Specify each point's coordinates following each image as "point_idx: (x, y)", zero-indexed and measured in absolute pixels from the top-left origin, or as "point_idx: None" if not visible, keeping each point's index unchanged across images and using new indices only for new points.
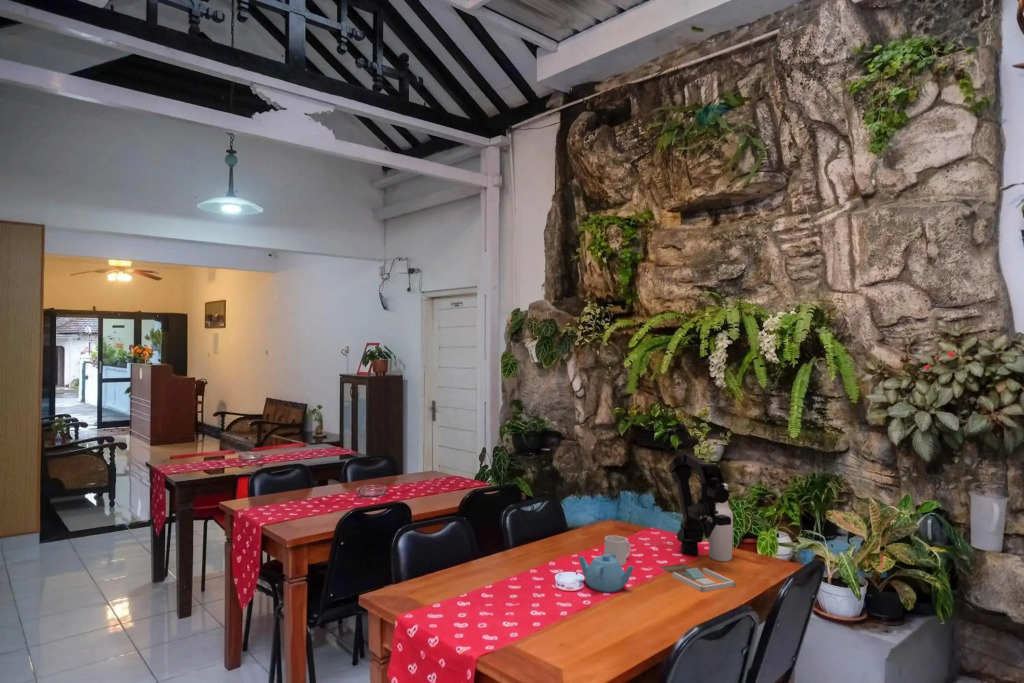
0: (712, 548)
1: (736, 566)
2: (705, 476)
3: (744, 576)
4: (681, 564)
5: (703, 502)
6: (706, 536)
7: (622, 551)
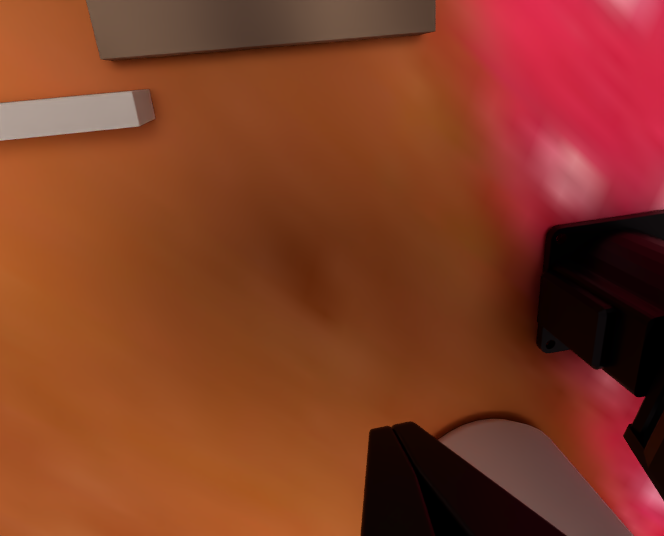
0: (525, 477)
1: (308, 498)
2: None
3: (95, 451)
4: (412, 2)
5: None
6: (380, 444)
7: None
